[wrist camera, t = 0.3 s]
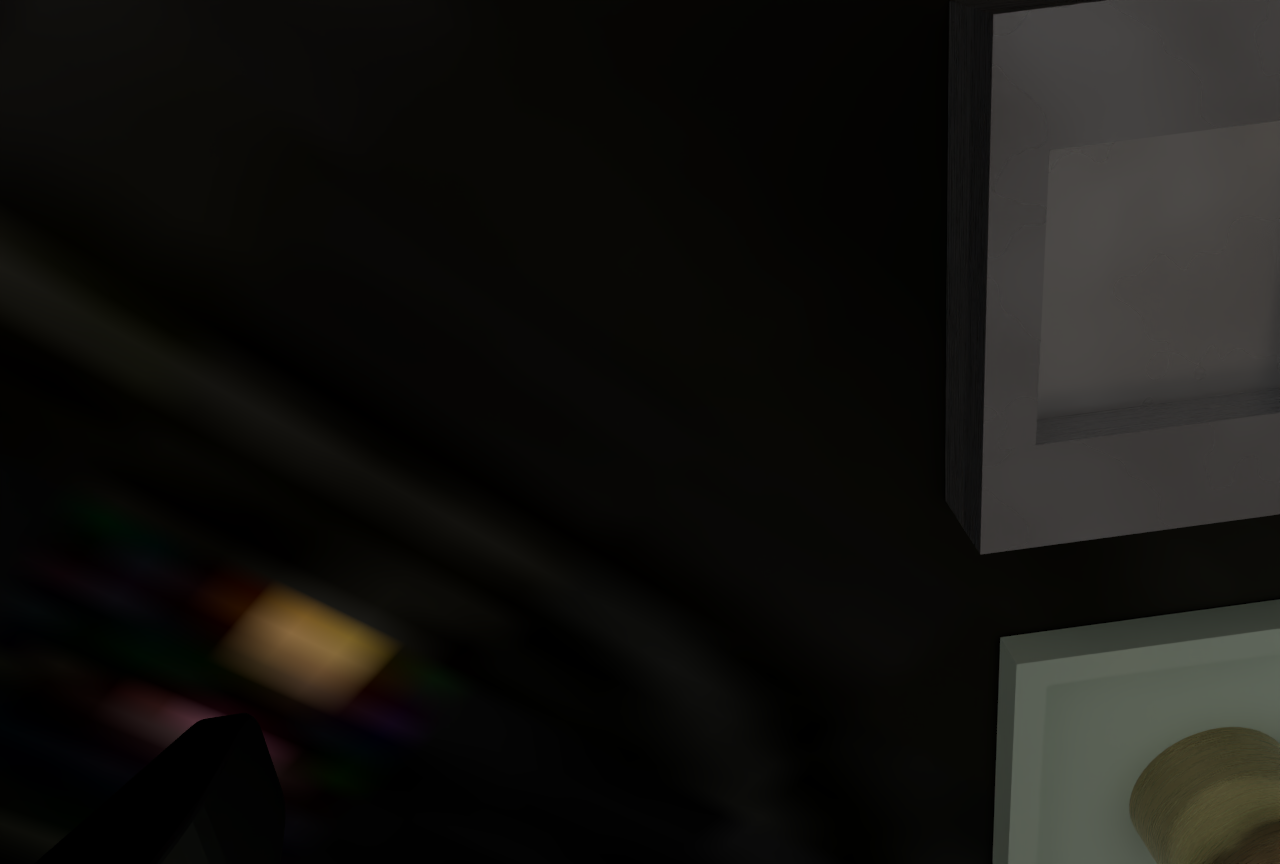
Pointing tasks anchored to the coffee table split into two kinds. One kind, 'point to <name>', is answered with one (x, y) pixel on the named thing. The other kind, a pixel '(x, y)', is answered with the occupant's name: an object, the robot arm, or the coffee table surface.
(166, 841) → the robot arm
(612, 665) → the coffee table surface
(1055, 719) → the pad
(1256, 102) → the pallet plate
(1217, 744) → the billet
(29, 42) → the coffee table surface
